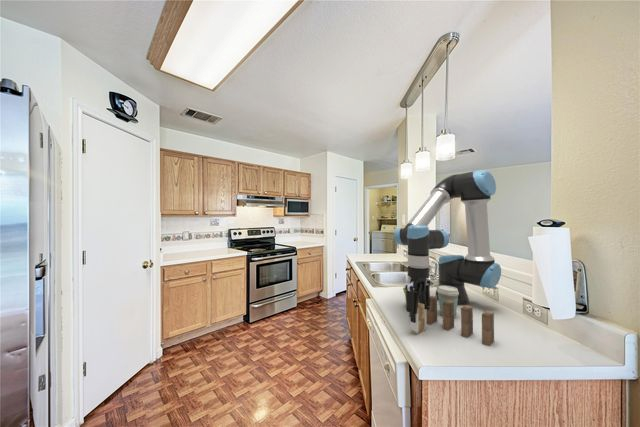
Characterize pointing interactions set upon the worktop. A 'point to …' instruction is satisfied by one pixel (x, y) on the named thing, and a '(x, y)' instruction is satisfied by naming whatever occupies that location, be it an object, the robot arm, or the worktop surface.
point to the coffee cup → (447, 297)
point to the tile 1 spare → (420, 319)
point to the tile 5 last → (432, 311)
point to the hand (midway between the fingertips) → (418, 328)
